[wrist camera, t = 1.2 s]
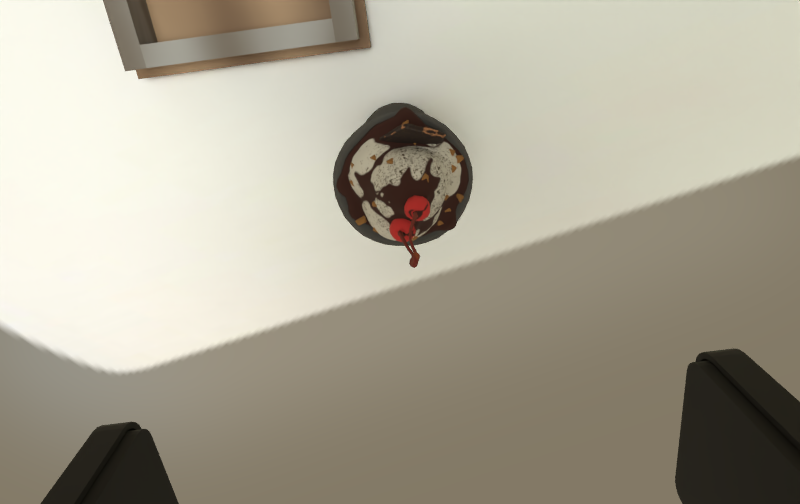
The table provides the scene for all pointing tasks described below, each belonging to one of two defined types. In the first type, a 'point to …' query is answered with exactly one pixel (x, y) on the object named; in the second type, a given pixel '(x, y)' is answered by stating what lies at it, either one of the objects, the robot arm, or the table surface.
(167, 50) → the stand
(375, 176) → the sundae
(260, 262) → the table surface
